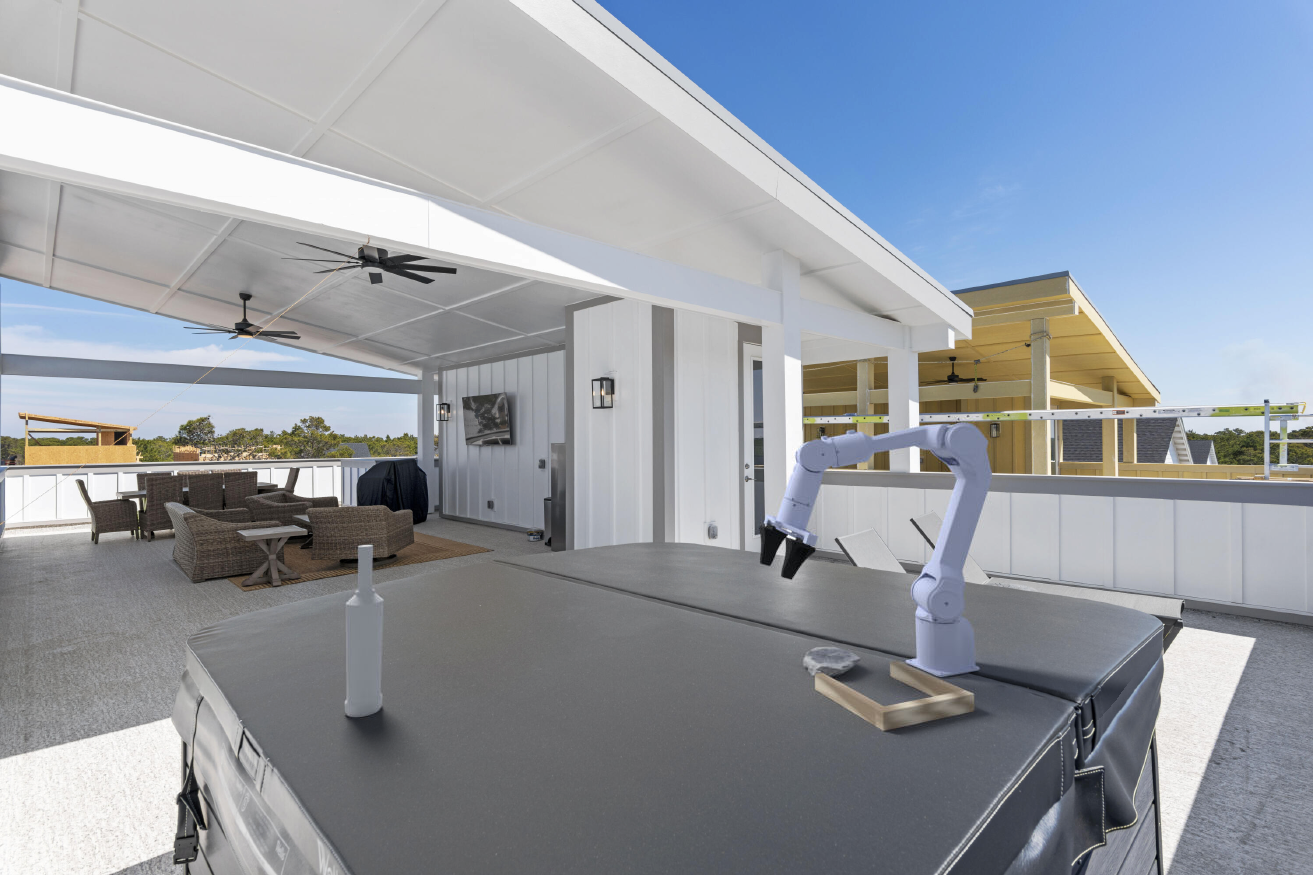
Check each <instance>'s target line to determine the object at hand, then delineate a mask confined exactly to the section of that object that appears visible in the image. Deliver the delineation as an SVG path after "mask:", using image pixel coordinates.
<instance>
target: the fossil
mask: <svg viewBox="0 0 1313 875" xmlns="http://www.w3.org/2000/svg"><path fill="white" fill-rule="evenodd" d="M860 659H861V657H860V656H858V655H857V654H855V653H853V652H851V651H849V650H846V649H843V648H838V647H837V646H824V647H823V646H822V647H821V646H817V647H813V648H812V649H810V650H808V651H807V652H805V656H804V658H803V660H802V665H803V666H804V667H805V668H807V670H808V673H809V674H810V675H811V676H812V677H813V678H815V674H819V673H824V674H826V675H827V676H829V677H831V678H833V677H836V676H840V675H842V674H845V673H846V672H848V671H849V670H851V669H853V668H854V667H855V666H856V665H857V664H858V663H860V661H861V660H860Z"/></svg>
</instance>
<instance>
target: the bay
mask: <svg viewBox="0 0 1313 875" xmlns="http://www.w3.org/2000/svg"><path fill="white" fill-rule="evenodd" d="M889 669H890V670H889V674H890V678H893V679H895V680H897V681H900V682H901V683H903V684H906V685H907V686H910V687H912V688H914V689H916V690H918V691H920V692H922V693H924V694H926V695H928V696H930V697H925V698H921V699H913V700H909V701H905V702H898V703H895V704H890V705H882V704H881V703H878V702H876V701H874V700H873V699H871V698H869V697H867V696H866V695H864V694H863V693H860V692H859V691H856V690H855V689H852V688H851V687H849V686H847V685H845V684H843V683H842V682H840V681H839V680H836V679H835V678H833V677H829V676H827V675H826V674H824V673H819V674H815V677H814V689H815V691H817V692H818V693H820V694H822V695H823V696H825V697H827V698H829V699H830V700H832V701H833V702H835V703H836V704H839V705H840V706H842V707H843V708H844V709H846V710H848V711H850V712H852V713H853V714H855V716H858V717H860V719H861V718H862V719H863V720H865V721H866V722H868V723H870V724H872V725H873V726H875V727H876V728H878V729H880V730H881V731H883V732H884V731H885V732H886V731H888V730H889V731H890V730H894V729H899V728H903V727H909V726H913V725H918V724H921V723H922V724H923V723H926V722H930V721H936V720H940V719H945V718H950V717H955V716H959V715H964V714H967V713H968V714H969V713H972V712H975V708H976V707H975V693H974V692H970V691H968V690H965V689H963V688H962V687H959V686H957V685H954V684H952V683H949V682H947V681H945V680H942V679H940V678H939V677H937V676H935V675H932V674H930V673H928V672H925V671H923V670H921V669H918V668H916V667H914V666H913V667H912V666H911V665H909V664H907V663H906V664H905V663H903V662H901V661H899V660H893V661H892V660H891V661H889Z"/></svg>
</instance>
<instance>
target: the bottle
mask: <svg viewBox="0 0 1313 875" xmlns="http://www.w3.org/2000/svg"><path fill="white" fill-rule="evenodd" d="M373 557H374V545H373V544H363V545H358V546H357V559H358V562H357V573H358V574H357V589H356V590H355V594H354V595H353V596H352V597H351V598H350V599H349V600H348V601H346V602H345V639H346V640H345V641H346V642H345V649H346V650H345V652H346V655H345V657H346V659H345V661H346V664H345V665H346V699H345V701H344V711H345V714H346V716H348V717H351V718H361V717H366V716H367V717H368V716H371V715H373V714H375V713H378V712H379V711H380V710H381V708H382V704H383V694H382V693H381V690H382V689H381V688H382V687H381V684H382V664H383V663H382V658H383V657H382V655H383V629H384V628H383V627H384V626H383V624H384V602H385V600H384V598H382V597H381V596H380V595H378V593H376V590H375V588H373Z"/></svg>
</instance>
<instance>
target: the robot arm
mask: <svg viewBox="0 0 1313 875" xmlns="http://www.w3.org/2000/svg"><path fill="white" fill-rule="evenodd" d="M845 433H846V434H840V435H836V436H831V437H829V436H827V435H824V436H821V437H820V439H816V438H815V439H813V440H811V441H807V442H806V441H805V442H804V443H802V444H801V445H800V446H799V448H798V449H797V451H795V456H794V457H795V465H794V466H793V468H792V473H791V474H790V477H789V479H788V482H787V486H786V489H785V491H784V495H783V497H782V500H781V504H780V506H779V509H778V513H777V516H775V515H771V514H766V515H765V518H764V522H763V524H765V526H764V525H761V524H760V525H759V527H758V529H759V535H760V553H759V554H760V557H759V564H761V565H764V566H768V567H771V566H772V563H773V562H774V560H775V558H776V555H777V552H778V550H779V548H780V546H781V545H782V544H783V542H784V541H785V553H784V560H783V563H782V568H781V572H780V577H781V578H783V579H787V580H790V581H792V580H793V579H794V577H795V576H796V575H797V573H798V571H799V569H801V566H802V565H803V564H804V563H805V562H806V561H807V559H809V558H810V557H811V556H812V555H814V553H815V552H816V551H817V548H816V547H815V546H816V543H817V540H818V538H819V537H818V535H816V534H814V533H812V532H811V531H809V530H807V529H808V528H807V527H808V524H809V523H810V518H811V516H812V514H813V513H812V512H813V509H814V506H815V504H816V501H817V497H818V494H819V491H820V489H821V485H822V484H821V482H822V480H823V477H824V473H825V471H827V470H828V469H829V468H830V467H832V468H834V469H835V468H841V467H846V466H851V465H857V464H861V463H867V462H868V461H869V460H870V459H871V457H872V456H873V455H874V454H877V453H882V452H886V451H887V452H888V451H893V450H900V449H905V448H911V447H917V448H918V449H921V450H924V451H930V452H931V453H932V455H934V456H935V457H936V458H937V459H939V460H940V461H941V462H943V463H944V464H945V465H947V467H948V468H949V470H950V472H951V473H952V474H953V476H954V477H955V479H956V481H955V483H954V486H953V490H952V493H951V496H950V500H949V503H948V507H947V509H946V511H945V515H944V518H943V521H942V524H941V527H940V530H939V533H938V537H937V541H936V543H935V547H934V549H933V553H932V556H931V559H930V560H929V561H928V562H927V563H926V564H925V565H924V566H923V567H922V570H921V573H920V575H919V577H917V578H916V579H915V580H914V581H913V582H912V584H911V587H910V595H911V598H912V601H913V602H914V604H916V605H917V609H916V610H915V613H914V614H915V646H916V649H915V650H916V657H915V658H911V659H905V663H906V665H909V666H911V667H912V666H913V668H916V669H918V670H920V671H923V672H925V673H927V674H930V675H932V676H934V677H937V678H944V677H949V676H955V675H960V674H966V673H971V672H976V671H980V670H981V669H980V666H977V665H976V648H975V646H976V645H975V630H974V628H973V626H972V624H971V622H970V621H969V620H968V619H967V618H966V617H964V616H962V615H963V613H964V611H965V608H966V607H965V606H966V605H965V604H966V602H965V597H964V593H965V589H966V581H965V577H964V574H963V573H964V572H963V570H964V566H965V563H966V560H967V557H968V555H969V551H970V547H971V545H972V541H973V538H974V536H975V532H976V530H977V526H978V523H979V521H980V520H979V519H980V517H981V514H982V511H983V507H984V504H985V501H986V498H987V496H988V495H987V494H988V492H989V488H990V485H991V483H992V479H993V478H992V477H993V472H992V468H991V464H990V460H989V455H988V451H987V450H988V444H989V440H988V439H987V438H986V437H985V435H984V434H983V433H982V432H981V430H980V429H979V428H978V427H977V426H975V425H974V424H973V423H970V422H958V423H955V424H951V423H940V424H925V425H919V426H914V427H913V426H912V427H909V428H906V429H900V430H896V431H892V432H887V433H883V434H877V435H873V436H870V435H868V434H866V433H864V432H863V431H856V430H855V429H851V430H847V431H846V432H845ZM788 536H789V537H788ZM790 537H792V538H790Z"/></svg>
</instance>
